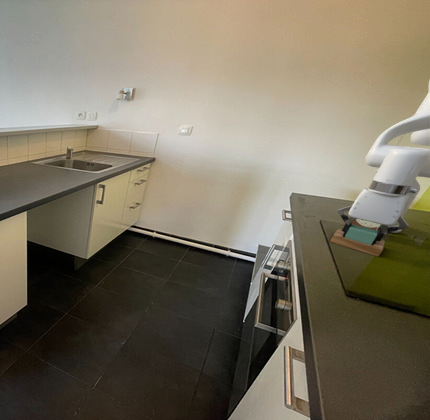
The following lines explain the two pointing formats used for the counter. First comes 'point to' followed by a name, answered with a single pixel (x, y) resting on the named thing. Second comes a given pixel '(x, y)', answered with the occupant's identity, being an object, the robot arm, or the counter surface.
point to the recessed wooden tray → (357, 244)
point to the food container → (367, 224)
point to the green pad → (361, 234)
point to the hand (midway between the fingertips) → (359, 237)
